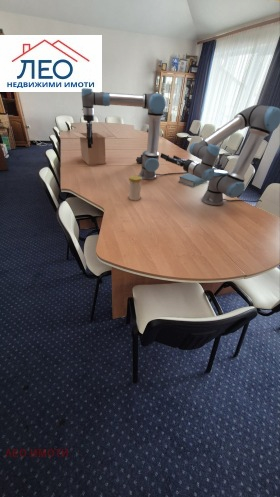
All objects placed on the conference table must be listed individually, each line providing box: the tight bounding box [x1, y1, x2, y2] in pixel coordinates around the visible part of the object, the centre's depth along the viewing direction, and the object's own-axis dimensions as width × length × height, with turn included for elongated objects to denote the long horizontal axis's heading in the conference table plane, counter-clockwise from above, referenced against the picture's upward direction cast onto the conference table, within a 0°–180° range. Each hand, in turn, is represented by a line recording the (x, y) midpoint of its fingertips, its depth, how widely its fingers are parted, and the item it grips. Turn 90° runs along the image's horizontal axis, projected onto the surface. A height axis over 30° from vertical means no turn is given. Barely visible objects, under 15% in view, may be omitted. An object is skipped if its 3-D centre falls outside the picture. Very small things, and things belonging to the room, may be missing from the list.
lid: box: [128, 174, 143, 183], centre depth 158 cm, size 9×9×2 cm
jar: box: [128, 180, 142, 201], centre depth 162 cm, size 8×8×15 cm
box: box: [70, 129, 114, 166], centre depth 229 cm, size 44×36×27 cm
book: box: [178, 173, 208, 188], centre depth 201 cm, size 23×16×5 cm
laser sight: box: [135, 153, 143, 165], centre depth 238 cm, size 10×22×10 cm, turn 78°
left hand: (90, 146), depth 173 cm, fingers open, 13 cm apart
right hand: (167, 156), depth 151 cm, fingers open, 13 cm apart
